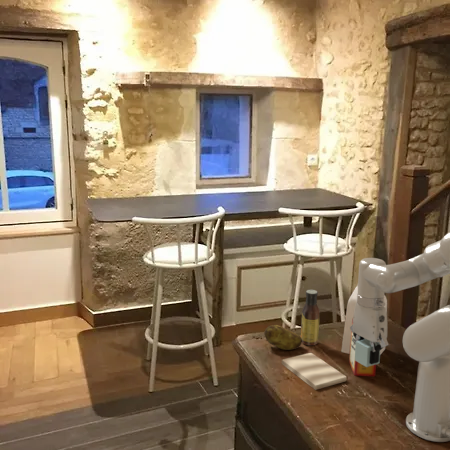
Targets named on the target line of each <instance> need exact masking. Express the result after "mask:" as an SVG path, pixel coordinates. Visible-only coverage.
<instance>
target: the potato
mask: <svg viewBox="0 0 450 450" xmlns="http://www.w3.org/2000/svg"><path fill="white" fill-rule="evenodd" d="M263 334H264V337H265V340H266V341H267V342H268V343H269V344H270V345H272V346H275V347H276V348H278V349H281V350H282V351H283V350H285V351H290V350H294V349H297V348H300V347H301V345H302V344H303V343H302V339H301V335H299V334H297V333H295V332H293V331H291V330H289V329H287V328H285V327H283V326H281V325H278V324H272V325H268V326H267V327H266V328H265V330H264V333H263Z"/></svg>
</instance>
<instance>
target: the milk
mask: <svg viewBox="0 0 450 450" xmlns="http://www.w3.org/2000/svg"><path fill="white" fill-rule="evenodd" d="M357 294H358V283H357V284H356V287H355V288H354V289H353V291H352V293H351V295H350V296H349V299H348V300H347V305H346V313H345V320H344V329H343V333H342V334H343V337H342V343H341V351H340V352H341V353H345V354H347V355H349V353H350V341H351V329H350V327H351V326H352V318H353V316H354V310H355V305H356V302H357ZM384 302H385V306H384V307H385V308H386V314H387V315H388V311H387V309H388V299H387V296H386V295H385V294H384ZM385 350H386V347H384V348H383V349H381V350H380V356H381V355H382V353H383V352H384V351H385Z"/></svg>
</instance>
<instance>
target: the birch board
mask: <svg viewBox="0 0 450 450" xmlns="http://www.w3.org/2000/svg"><path fill="white" fill-rule="evenodd" d="M281 365H283V366H284V367H285V368H286V369H288V371H291V372H292V373H293V374H294V375H295V376H297V377H298V378H299V379H300V380H302V381H303V382H304V383H306V384H307V385H308V386H310V387H311V388H312V389H314V391H316V390H320V389H323V388H327V387H330V386H333V385H337V384H340V383H344V382H347V376H346V375H345V374H343V373H341V372H340V371H339V370H338V369H336V368H334V367H333V366H331V365H330V364H328V363H327V362H325V361H324V360H323V359H321V358H320V357H318V356H317V355H315V354H314V353H312V352H308V353H304V354H300V355H296V356H292V357H288V358H284V359H281Z"/></svg>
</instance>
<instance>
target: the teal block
mask: <svg viewBox="0 0 450 450" xmlns="http://www.w3.org/2000/svg"><path fill="white" fill-rule="evenodd" d="M375 346H377V343H375ZM370 351H372V349H371V342H370V341H369V340H367V339H364V340H360V341H356V346H355V361H357V362H359V363H360V364H362V365H364V366H366V367H369V366H372V365H376V366H377V365H378V364H380V361H381V360H380V359H381V355H380V351H379V362H378V363H374V364H370V363H369V362H370Z"/></svg>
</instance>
